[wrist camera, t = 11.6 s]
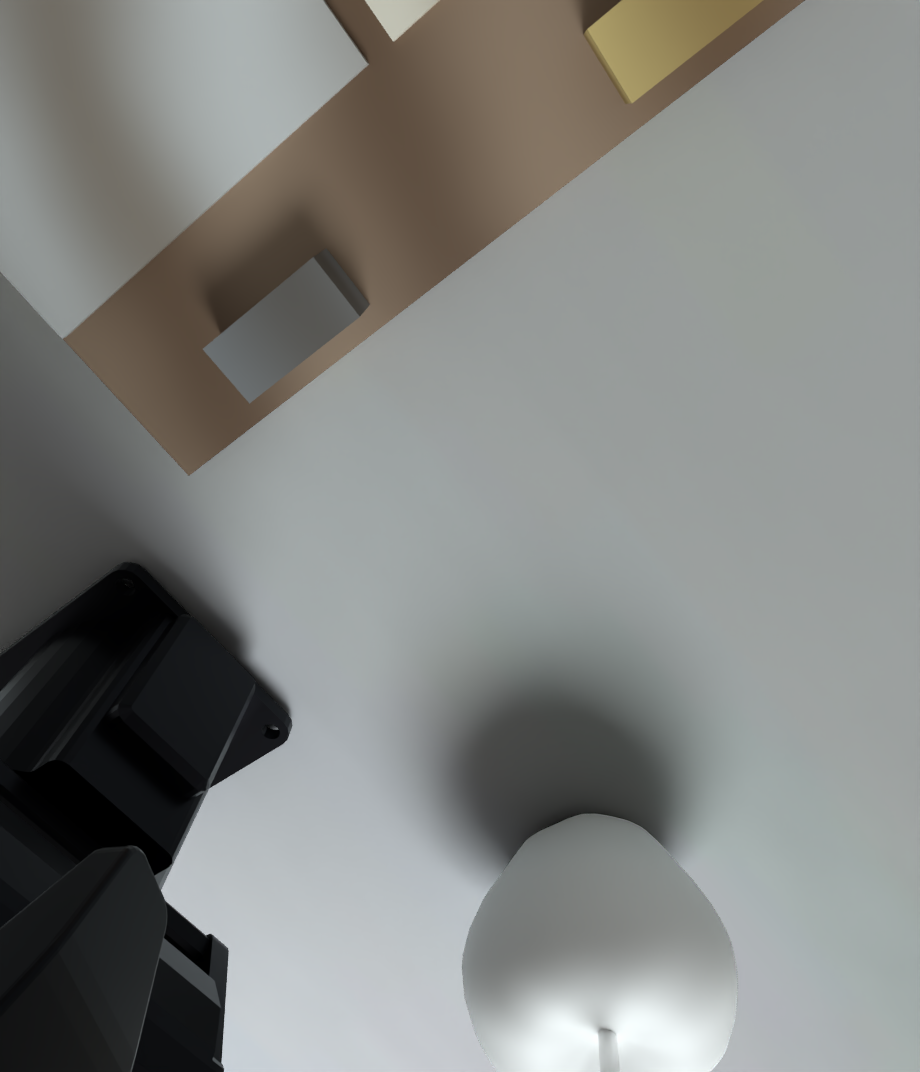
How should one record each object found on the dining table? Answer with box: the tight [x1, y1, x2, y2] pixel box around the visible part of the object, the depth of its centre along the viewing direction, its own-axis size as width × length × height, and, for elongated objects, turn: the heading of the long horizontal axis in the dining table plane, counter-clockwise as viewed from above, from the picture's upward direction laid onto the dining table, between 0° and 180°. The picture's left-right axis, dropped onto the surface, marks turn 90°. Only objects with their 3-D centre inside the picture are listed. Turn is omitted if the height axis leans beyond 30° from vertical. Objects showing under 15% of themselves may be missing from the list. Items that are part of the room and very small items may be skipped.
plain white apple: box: [462, 814, 738, 1072], centre depth 22 cm, size 7×7×8 cm
